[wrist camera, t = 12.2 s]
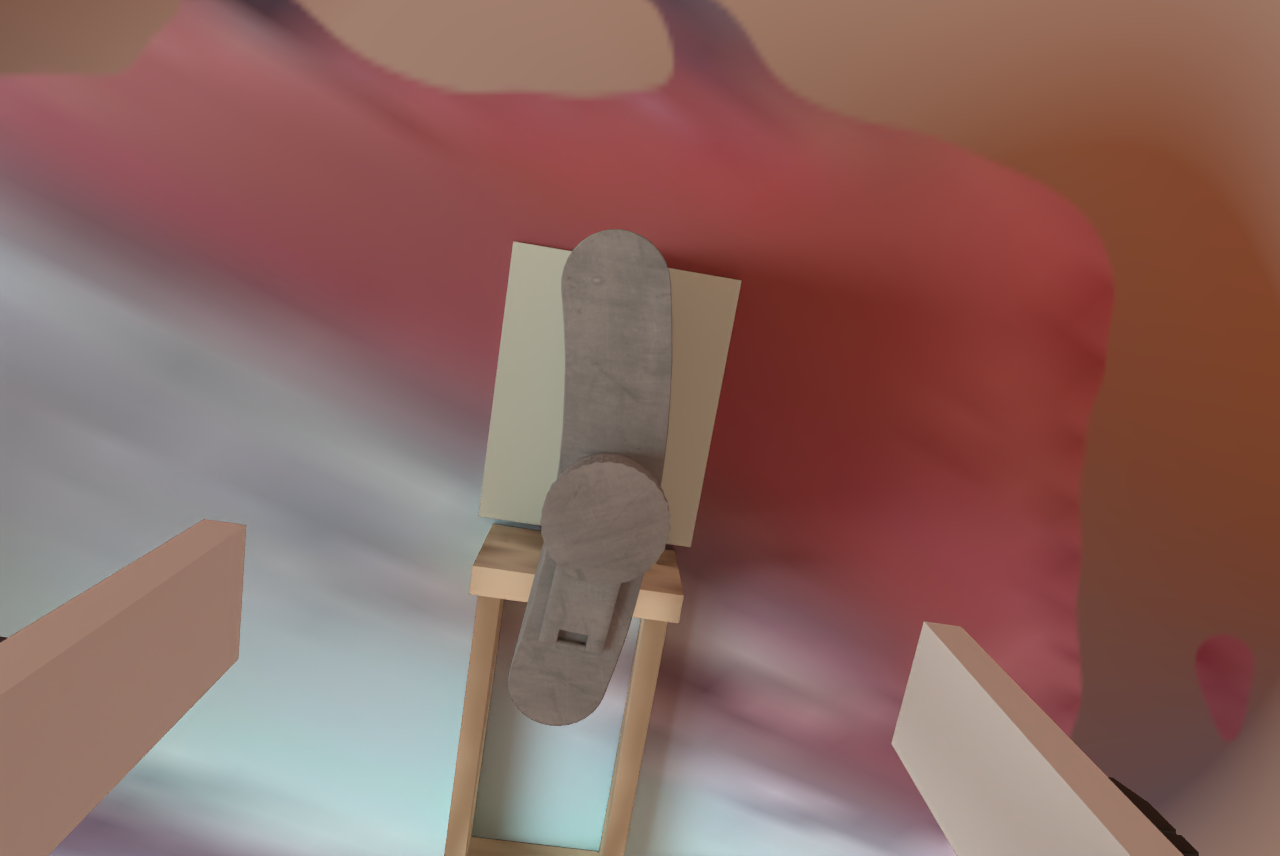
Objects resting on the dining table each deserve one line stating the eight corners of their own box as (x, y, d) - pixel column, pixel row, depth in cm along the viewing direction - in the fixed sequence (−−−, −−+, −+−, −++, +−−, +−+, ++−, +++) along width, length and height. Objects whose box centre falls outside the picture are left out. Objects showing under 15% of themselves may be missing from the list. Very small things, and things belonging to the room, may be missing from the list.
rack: (449, 854, 46) (424, 940, 40) (493, 523, 41) (472, 565, 35) (614, 874, 46) (613, 961, 41) (674, 550, 42) (684, 595, 36)
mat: (479, 513, 41) (478, 516, 41) (514, 241, 38) (513, 241, 38) (689, 544, 42) (690, 547, 41) (740, 280, 39) (741, 280, 38)
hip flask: (590, 243, 38) (562, 213, 18) (667, 255, 38) (722, 240, 19) (549, 532, 41) (489, 771, 21) (621, 542, 41) (626, 787, 22)
